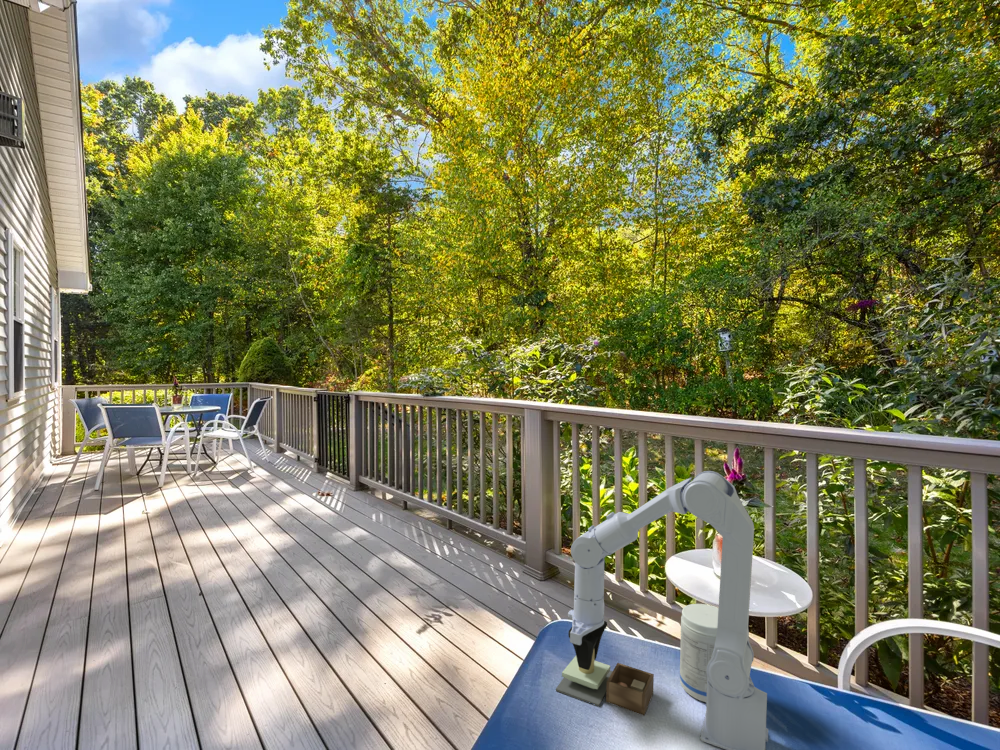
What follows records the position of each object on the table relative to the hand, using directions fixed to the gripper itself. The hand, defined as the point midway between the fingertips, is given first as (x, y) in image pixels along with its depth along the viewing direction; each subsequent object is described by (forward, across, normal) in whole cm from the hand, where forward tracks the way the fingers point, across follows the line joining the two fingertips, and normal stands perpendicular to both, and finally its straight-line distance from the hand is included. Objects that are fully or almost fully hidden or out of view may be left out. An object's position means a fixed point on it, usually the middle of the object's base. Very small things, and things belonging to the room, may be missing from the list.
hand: (587, 662), depth 98 cm
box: (+4, 0, +8) cm, 9 cm away
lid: (+3, 0, 0) cm, 3 cm away
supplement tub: (+4, -10, +20) cm, 23 cm away
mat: (+4, 0, 0) cm, 4 cm away
